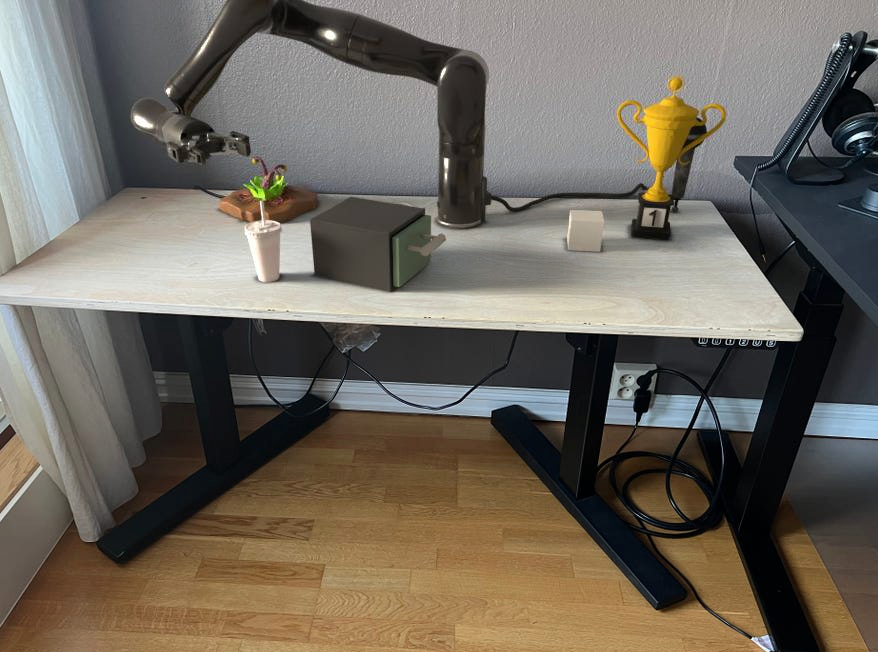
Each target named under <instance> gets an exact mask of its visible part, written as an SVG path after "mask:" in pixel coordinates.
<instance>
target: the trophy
mask: <svg viewBox="0 0 878 652" xmlns="http://www.w3.org/2000/svg"><path fill="white" fill-rule="evenodd" d="M685 83H686V82H685V79H684V78H683V76H681V75H673V76H672V77H670V78H669V79H668V80H667V85H666V86H667V89H668V90H669V91H670V92H671V93H673V94H672V95H671V96H666V97H664V98H663V99H662V100H661V101H660V102H656V103H653V104H650V105H647V106H645V107H644V108H643V107H642V105H641V103H640V102H639V101H637V100H632V99H631V100H626V101H623V102H622V103H621V104H620V105H619V106H618V108H617V111H616V117H617V121H618V123H619V125H620V127H621V128H622V130H624V132H625V133H626V134H627V135H628V136H629V137H630V138H631V139H632V140H633V141H634V142H635V143H636V144H637V145H638V146H639V147H640V148H642V149H643V151H644V153H646V156H645V158H644V159H641V160H640V159H639V158H638V157H636V162H638V163H644V162H646V161H648V160H649V163H650V165H651V167H652V168H654V170H655V171H656V175H655V181H654V183H653V185H652V186H651V187H649V188H648V189H647V190H646V191H641V192H638V194H637V202H638V209H637V215H636V218H632V220H631V223H630V224H631V225H630V236H631V237H632V238H636V239H637V238H638V239H647V240H648V239H649V240H662V241H669V240H671V234H672V229H671V222H670V221H669V220H670V219H669V218H670V213H671V210H672V207H673V206H674V203H675V200H674V198H673V195H671V194H672V193H668V192H667V189H666V188H665V187H664V184H663V183H664V178H665V176H664V173H665V172H667V171H669V169H671V168H673V166H674V165H676V161H677V158H678V162H679V163H680V164H682V165H686V164H688V163H689V162H690V161H689V162H687V163H683V162H681V161H680V157H681V155H682V154H683V153H684V152H686V151H687V150H689V149H691V148H692V147H694V146H695V145H697V144H699V143H700V142H702V141H703V140H704V141H705V140H706V139H708V138H709V137H710V136H712V135H714V133H716V132H718V130H719V129H720V128H722V126H723V125H724V123H725V122H726V118H727V112H726V111H727V110H726V109H725V107H724V106H723V105H722V104H719V103H710V104H707V105H705V106H704V107H703V108H702V109H701V111H700V110H698V108H696V107H694V106H693V105H689V104H687V103H685V101H684V99H683V98H681V97H678V96H676V93H679V92H681V91H682V90H683V88H684V87H685ZM627 106H634V107H636V108H637V111H636V112H635V114H634V115H633V117H632V118H633V121H634V122H635V123H637V124H644V126H645V127H646V133H647V135H646V136H647V145H646V144H645V143H644V142H643V141H642V140H641V139H640V138H639V137H638V136H637V134H635V133H634V132H633V131H632V129H630V127H629V126H628V125H627V124H626V123H625V121H624V120H623V118H622V110H624V108H626V107H627ZM709 109H716V110H718V111H719V112H720V113H721V118H720V120H719V122H718V123H716V125H715V126H714V127H712V128H711V129H710V130H709V131H708V130H707V133H706V134H704V135H703V136H701V137H700V138H698V139H697V140H695V141H694V142H692V143H691V144H689V145H688V146H686V147H685V148H684V149H682V147H683V145H684V143H685V140H686V138H687V136H688V133H689V132H690V129H691V128H692V127H693V126H702V125H704V124H705V125H706V124H707V122H708V117H707V115H706V112H707V111H708V110H709ZM642 111H643V112H644V117H642V118H639V116H640V115H641V113H642ZM699 114H700V115H701V119H702V122H698V121H697V120H696V118H697V117H698V116H699ZM704 141H703V142H704ZM681 149H682V150H681Z"/></svg>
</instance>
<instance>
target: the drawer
mask: <svg viewBox="0 0 878 652" xmlns="http://www.w3.org/2000/svg"><path fill="white" fill-rule="evenodd" d="M446 241H447V236H446V235H445V234H444V233H439V234H438V235H434V234H432V215H429V214H425V215H424V216H423V217H421V218H420V219H418V220H417V219H415V220H414V221H412V222H411V223H410V224H408V225H407V226H405V227H404V228H402V229H401V230H399V231H398V232H397V233H395V234H394V235H392V236H391V248H392V278H393V286H396V287H395V288H400V287H402V286H403V285H404V284H405V283H407V281H409V280H410V279H411V278H413V277H414V276H415V275H416V274H417V273H419V272H420V271H421V270H422V269H424V268H425V267H426V266H427V265H429V264H430V263H431V262H432V252H434V251H435V250H437V249H438V248H439V247H440V246H442V245H443V244H444V243H445V242H446Z"/></svg>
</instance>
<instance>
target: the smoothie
mask: <svg viewBox="0 0 878 652" xmlns="http://www.w3.org/2000/svg"><path fill="white" fill-rule="evenodd" d="M260 205H261V214H262V221H255V222H249V223H247V224H246V225H244V234H245V236H246V237H247V240H248V244H249V248H250V251H251V255H252V259H253V262H254V266H255V270H256V271H255V272H256V274H257V278H258V280H259V281H260V282H262V283H263V282H264V283H270V282H271V283H272V282H275V281H277V280H279V279H280V269H281V268H280V267H281V265H280V264H281V233H282V232H283V229H282V224H281V222H280V223H279V222H276V221H271V220H265V211H264V203H263V200H261V201H260Z"/></svg>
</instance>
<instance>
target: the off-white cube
mask: <svg viewBox="0 0 878 652" xmlns="http://www.w3.org/2000/svg"><path fill="white" fill-rule="evenodd" d="M604 225H605V219H604V216H603V211H601V210H585V209H583V210H581V209H579V210H578V209H570V210H569V219H568V228H567V235H566V243H567V251H579V252H596V253H597V252H598V253H599V252H601V247H602V240H603V233H604Z"/></svg>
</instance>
